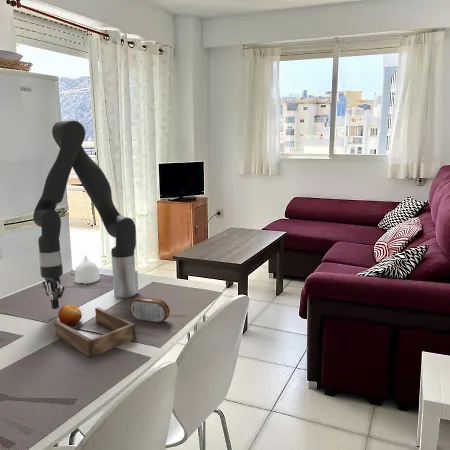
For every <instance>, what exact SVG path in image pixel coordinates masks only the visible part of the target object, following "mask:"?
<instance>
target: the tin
mask: <svg viewBox="0 0 450 450" xmlns="http://www.w3.org/2000/svg"><path fill="white" fill-rule="evenodd" d="M170 311H171V310H170V307H169V305H168V304H167V303H166V302H165V301H164V300H162V299H160V298H153V297H152V298H151V297H145V296H136V297H135V298H134V299H133V300H132V301H131V302H130V303H129V312H130V314H131V316H132V317H133V318H134V319H135V320H137V321H142V322H150V323H155V324H160V323H163V322H164V321H166V320H167V319H168V318H169V316H170V314H171V313H170Z"/></svg>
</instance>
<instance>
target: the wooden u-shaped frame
mask: <svg viewBox="0 0 450 450" xmlns="http://www.w3.org/2000/svg"><path fill="white" fill-rule="evenodd" d="M94 310H95V311H94V312H95V322H96V323H99V324H100V325H102V326H104V327H107V328H108V329H111V330H112V331H110V332H107V333H104V334H101V335H99V336H97V337H93V338H90V337H88V336H86V335H84V334H82V333H81V332H79V331H77V330H76V329H73V328H72V327H71V326H66V325H65V324H63V323H61V322H60V320H56V321H54V334H55V337H56V338H58V339H60V340H62V341H64V343H66V344H68V345H70V346H72V347H73V348H75V349H77V350H78V351H79V352H81V353H83V354H84V355H86V356H88V357H90V358H92V357H96V356H98V355H101V354H103V353H105V352H107V351H108V352H109V351H110V350H112V349H115V348H116V347H120V346H122V345H124V344H126V343H129V342H131V341H134V340H136V339H137V334H136V333H137V331H136V324H135V323H133V322H131V321H129V320H127V319H125V318H123V317H121V316H118V315H116V314H114V313H111V312H109V311H107V310H105V309H102V308H100V307H95V309H94Z"/></svg>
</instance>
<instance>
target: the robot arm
mask: <svg viewBox="0 0 450 450" xmlns="http://www.w3.org/2000/svg"><path fill="white" fill-rule="evenodd" d="M51 129H52V130H51V134H52V138H53V140H54V142H55V143H56V144H57V146H58V148H59V151H58V154H57V157H56V159H55V161H54V163H53V164H52V167H51V168H50V170H49V171H48V173H47V176H46V179H45V182H44V186H43V191H42V194H41V196H40V199H39V200H38V201H37V205H36V206H35V208H34V212H33V216H32V218H33V219H32V220H33V222H34V224H35V225H36V226H38V227H40V228H41V235H39V237H38V240H37V241H38V242H37V243H38V251H39V252H38V254H39V256H38V257H39V268H40V270H39V271H40V276H41V277H42V278H43V279H44V280H43V281H42V283H41V284H42V286H43V288H44V291H45V294H46V296H47V297H49V299H50V303H51V304H50V306H51V309H53V310H56V309H59V308H60V302H59V299H61V298H62V297H63V294H64V292H65V286H62V285H61V284H62V283H61V277H62V276H63V274H64V268H63V259H62V258H63V256H62V252H61V241H60V236H61V229H62V219H61V216H60V213H59V212H58V211H57V210H56V208H57V205H58V204H60V203H61V202H62V201H63V199H64V196H65V192H66V189H67V184H68V181H69V178H70V174H71V172H72V169H73V170H74V173H75V175H76V176H77V178H78V180H79V181H80V183H81V185H82V187H83V189H84V191H85V193H86V195H87V196H88V197H89V198H90V200H91V202H92V204H93V206H94V207H95V209H96V211H97V212H98V214H99V216H100V219H101V221H102V224H103V225H104V228H105V230H106V232H107V234H108V235H109V236H111V237H113V238H114V239H115V246H113V247H112V248H111V250H110V251H111V252H110V253H111V254H110V255H111V267H112V286H113V295H114V297H115V298H119V299H127V298H131V297H134V296H137V294H139V276H138V271H137V270H136V261H135V260H136V258H135V250H136V248H137V247H136V246H137V231H136V230H137V229H136V223H135V221H134V219H132V218H130V217H128V216H123V215H121V214H120V213H119V211H118V209H117V208H116V205H115V204H114V200H113V195H112V188H111V184H110V182H109V180H108V178H107V177H106V175H105V172H104V171H103V170H102V169H101V167H100V166H99V165H98V164H97V163H96V162H95V160H93V159H92V158H91V156H89V155H88V153H87V152H86V151H85V149H84V148H83V143H84V141H85V139H86V138H85V137H86V129H85V126H84V124H82V123H81V122H80V121H78V120H75V119H67V120H63V119H62V120H59V121H57V122H55V123H54V124H53V126H52V128H51Z"/></svg>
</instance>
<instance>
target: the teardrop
mask: <svg viewBox="0 0 450 450" xmlns="http://www.w3.org/2000/svg"><path fill="white" fill-rule="evenodd" d="M100 276H101V275H100V269H99V267H98V265H97V264H96V263H95V262H94V261H93V260H91V259H90V258H89V257H87V255H84V257H83V259H82V260H80V262H78V264H77V265H76V267H75V269H74V280H75V283H77V284H80V283H84V284H83V285H85V284H87V283H88V284H92V283H97V282H98V281H100V280H99V279H101V277H100Z"/></svg>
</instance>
